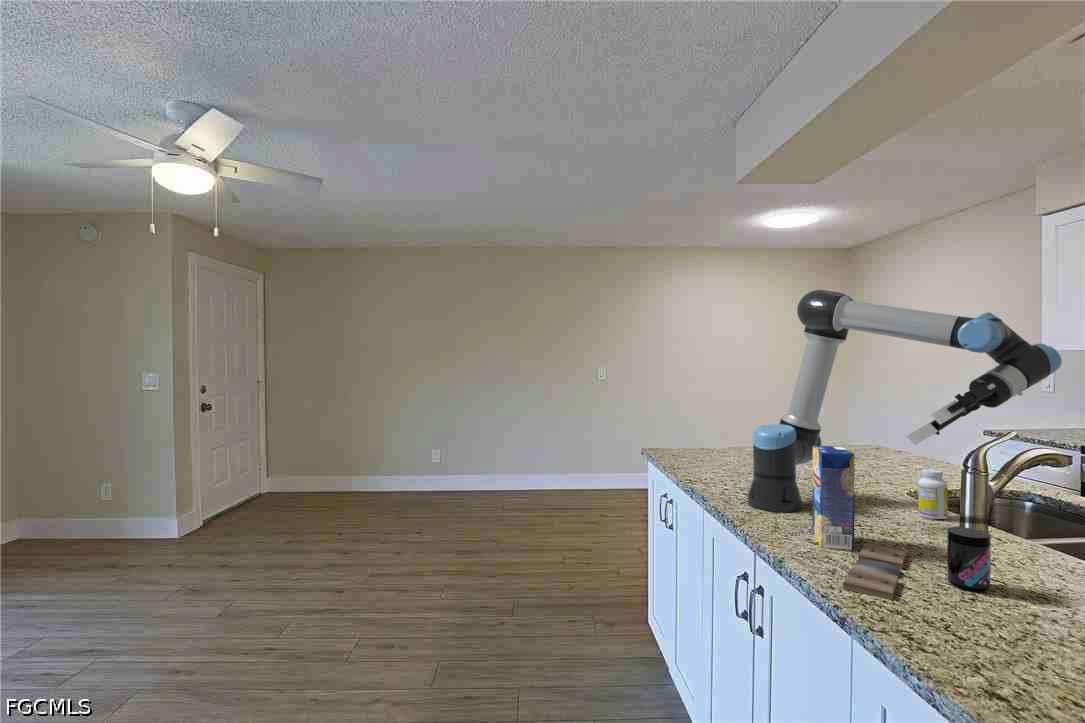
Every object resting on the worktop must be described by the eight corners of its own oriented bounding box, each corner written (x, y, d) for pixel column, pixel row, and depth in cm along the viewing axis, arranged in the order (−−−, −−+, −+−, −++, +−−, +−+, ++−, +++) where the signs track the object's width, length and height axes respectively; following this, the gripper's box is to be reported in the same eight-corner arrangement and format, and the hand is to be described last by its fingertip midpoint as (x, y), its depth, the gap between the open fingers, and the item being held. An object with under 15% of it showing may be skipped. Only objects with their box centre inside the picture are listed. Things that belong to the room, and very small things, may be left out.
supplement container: (948, 588, 107) (949, 534, 107) (944, 576, 113) (945, 525, 113) (993, 596, 104) (994, 540, 103) (987, 583, 109) (987, 530, 109)
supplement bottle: (938, 514, 156) (938, 468, 156) (953, 521, 150) (953, 473, 150) (912, 513, 157) (912, 467, 157) (926, 520, 151) (926, 472, 150)
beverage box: (842, 535, 139) (842, 446, 138) (854, 550, 128) (854, 454, 128) (812, 533, 140) (812, 445, 140) (821, 547, 130) (821, 452, 130)
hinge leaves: (892, 599, 102) (892, 592, 102) (843, 588, 107) (843, 581, 107) (906, 555, 124) (906, 549, 124) (865, 548, 129) (865, 542, 129)
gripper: (1042, 375, 120) (962, 423, 118) (982, 419, 142) (913, 460, 140) (1012, 349, 124) (933, 395, 122) (958, 396, 145) (890, 436, 143)
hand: (922, 430), depth 131 cm, fingers open, 13 cm apart
